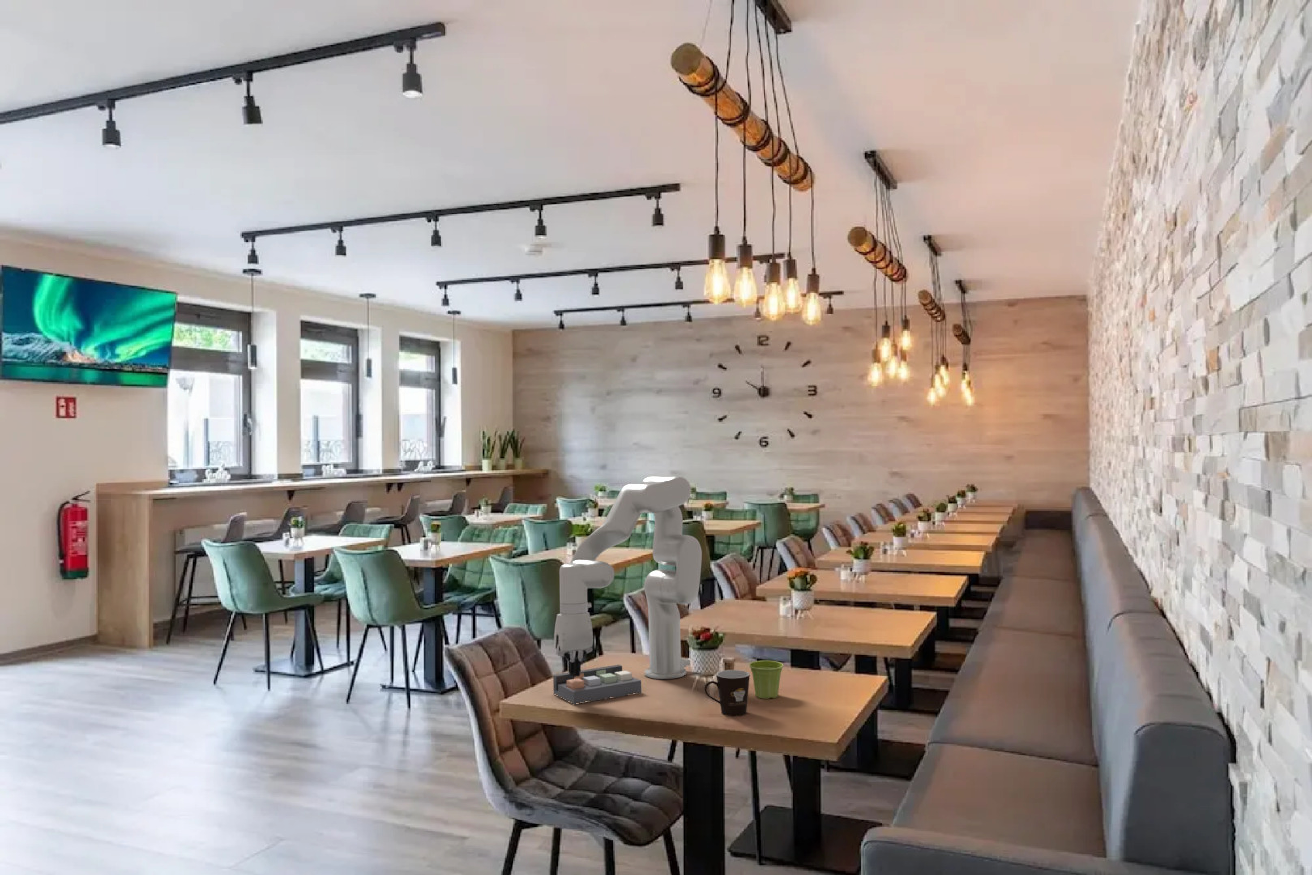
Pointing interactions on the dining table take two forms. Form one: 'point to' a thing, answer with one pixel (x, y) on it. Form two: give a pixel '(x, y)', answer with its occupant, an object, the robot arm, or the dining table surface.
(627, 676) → the key cream
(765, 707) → the dining table surface
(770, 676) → the plant pot
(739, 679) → the coffee mug
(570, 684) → the key terracotta
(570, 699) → the keypad
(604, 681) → the key sage
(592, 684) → the key slate
